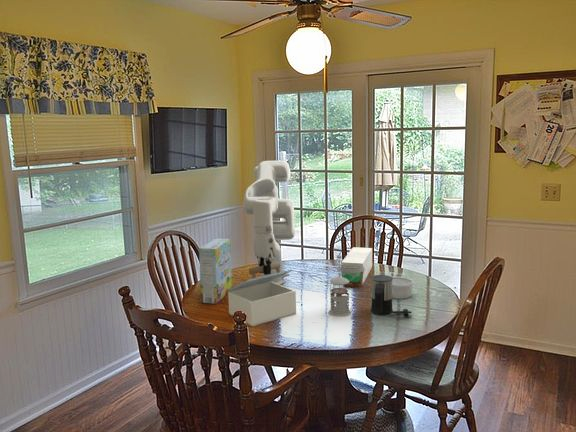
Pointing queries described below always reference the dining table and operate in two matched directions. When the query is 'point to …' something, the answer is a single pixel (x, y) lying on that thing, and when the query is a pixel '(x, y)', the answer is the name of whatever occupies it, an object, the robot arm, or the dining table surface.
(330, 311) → the french press
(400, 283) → the ramekin
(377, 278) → the milk frother
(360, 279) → the food container
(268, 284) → the carton
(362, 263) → the long white box
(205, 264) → the snack box
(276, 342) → the dining table surface
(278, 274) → the lid flap
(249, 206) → the robot arm
